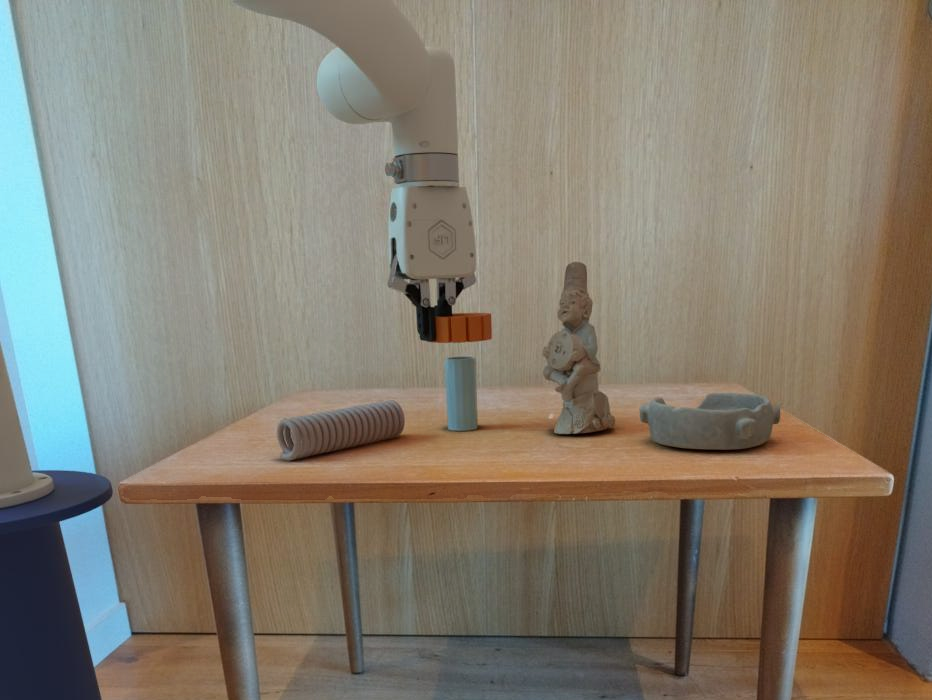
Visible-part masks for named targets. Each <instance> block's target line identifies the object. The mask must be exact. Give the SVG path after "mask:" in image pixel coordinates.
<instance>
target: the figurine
mask: <svg viewBox="0 0 932 700" xmlns="http://www.w3.org/2000/svg"><path fill="white" fill-rule="evenodd" d="M563 279H564V280H563V288H562V293H560V299H559V303H558V305H559V308H557V312H556V313H557V315H556V316H557V318H558V320H559V321H560V322H562V323H561V324H562V326H563V328H562V329H561V330H558V331H556V332H555V333H554V334H553V335H552V336H551V337H550V339H549V341H548V343H547V346H543V348H542V352H541V354H542V358H545V361H546V363H547V364H546V365H545V366H544V368H543V371H542V375H543V377H544V379H545V380H547V381H551V382H553V383H556V384H557V385H556V386H555V387H554V390H555V392H557V393H558V394H560V395H561V397H560V398H561V399H562V408H561V409H562V410H561V412H560V414H559V416H558V418H557V421H556V423H555V426H554V428H553V432H554V434H556V435H557V434H558V435H571V434H572V435H577V434H589V433H595V432H600V431H605V430H607V429H609V428H610V429H611V428H614V427H616V425H617V423H616V418H615V416H614V415H612V413H611V406H610V402H609V396H607V394H606V393H604V392H603V391H600V390H599V375H598V373H599V372H600V371H601V363H600V360H599V359H598V357H597V355H598V349H599V348H598V347H599V346H598V337H597V333H596V330H595V329H596V328H595V325H593V324H591V323H589V322H590V318H591V315H592V312H593V305H594V303H593V299H591V297H590V294H589V293H588V270H587V265H586V264H585V263H583V262H581V261H572V262H570V263H568V264H567V265H566V267H565V272H564V278H563Z"/></svg>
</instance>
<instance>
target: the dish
mask: <svg viewBox="0 0 932 700" xmlns="http://www.w3.org/2000/svg"><path fill="white" fill-rule="evenodd" d="M639 419H640V422H641V423H642V424H647V425H648V429H649V436H650V439H651V440H652V441H653V442H655V443H658V444H660V445H663V446H668V447H673V448H679V449H680V448H681V449H689V450H691V449H692V450H719V451H723V450H724V451H726V450H727V451H728V450H744V449H749V448H753V447H757V446H760V445H763V444H764V443H766V442H768V441H769V440H770V438H771V435H772V431H773V426H774V425H778V424H779V423H780V421H781V407H780V405H779V404H778V403H774V404H772V402H771V400H770V398H769V397H767V396H765V395H762V394H754V393H743V392H741V393H740V392H738V393H737V392H710V393H708V394H707V395H706V396H705V398H704V399H703V400H702V401H701V403H699V405H698V406H697V407H696V408H694V407H679V408H676V407H675V406H674V405H669V404H666V402H665V400H664V398H663V397H660V396H659V397H654V398H653V399H651V400H650V402H649V403H642V404H640V406H639Z"/></svg>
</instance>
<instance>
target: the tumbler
mask: <svg viewBox="0 0 932 700" xmlns="http://www.w3.org/2000/svg"><path fill="white" fill-rule="evenodd" d="M444 377H445V378H444V379H445V399H446V423H447V430H449V431H454V432H467V431H473V430H477V429H478V424H479V423H478V422H479V421H478V419H479V418H478V388H477V385H478V384H477V358H476V357H475V356H463V355H462V356H449V357H445V358H444Z"/></svg>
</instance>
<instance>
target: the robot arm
mask: <svg viewBox="0 0 932 700" xmlns="http://www.w3.org/2000/svg"><path fill="white" fill-rule="evenodd" d="M230 1H231V2H233V3H234V4H235V5H237V6H239V7H241V8H243V9H246V10H248V11H251V12H254V13H257V14H260V15H264V16H268V17H273V18H278V19H281V20H282V19H283V20H287V21H289V22H292V23H293V22H294V23H296V24H299V25H302V26H304V27H306V28H308V29H309V30H312V31H314V32H316V33H317V34H318V35H321V36H322V37H324V38H325V39H326V40H328V41H330V42H331V43H332V44H333V45H334V46H336V47H335V48H333V49H331V50H330V51H329V52H328V53H327V54H326V56H324V58H323V59H322V60H321V62H320V64H319V66H318V68H317V69H318V70H317V73H316V90H317V95H318V97H319V99H320V101H321V103H322V105H323V107H324V108H325V109H326V111H327V112H328V113H329V114H330V115H332V116H333V117H334V118H335V119H337V120H339V121H341V122H343V123H346V124H349V125H350V124H351V125H366V124H374V123H385V122H387V123H390V124H391V131H392V144H393V145H392V146H393V158H392V162H386V163H385V166H384V172H385V175H386V176H387V177H392V178H393V180H394V184H395V187H393V188H391V194H390V199H389V200H390V201H389V208H388V209H389V211H388V228H387V229H388V235H387V236H388V238H387V239H388V241H387V242H388V261H389V263H388V264H389V270H390V271H389V276H388V279H387V287H388V288H389V289H391V290H394V291H397V292H399V293H402V294H404V295H405V297H406V298H407V299H408V300H409V301H410V302H411V305H412V306H413V307H415V312H416V313H415V314H416V329H417V334H418V335H419V339H420V341H425V342H427V341H435V340H436V323H435V316H438V317H452V313H453V306H455V305H456V302H457V299H458V297H459V296H460V295H461V293H462V292H463V290H466V289H468V288H470V287H471V286H473V285H475V284H476V283H477V278H476V275H475V273H476V270H477V251H476V239H475V230H474V219H473V214H472V209H471V203H470V199H469V195H468V191H467V187H465V186H460V167H459V166H460V165H459V163H460V162H459V139H458V138H459V137H458V111H457V109H458V107H457V87H456V85H457V84H456V68H455V67H456V66H455V61H454V58H453V56H452V54H451V53H450V52H449V51H448V50H446V49H444V48H443V47H438V46H432V45H424V44H425V43H424V42H423V40H422V39H421V36H420V35H419V33H418V32H417V30H416V29H415V27H414V26H413V25H412V23H411V22H410V21H409V19H408V18H407V16H406V15H405V14H404V12H402V10H401V9H400V8H399V6H398V5H397V4H396V3H395V2H394V0H230ZM406 280H409V281H406ZM429 280H436V304H435V305H433V306H432V305H431V292H430V281H429ZM7 367H8V366H7V363H6V359H5V355H4V351H3V348H2V343H1V342H0V509H2V508H8V507H12V506H16V505H21V504H24V503H28V502H31V501H34V500H37V499H40V498H42V497H44V496H46V495H48V494H50V493H51V492H52V491H53V489H54V485H53V480H52V478H51V477H50V476H48V475H46V474H42V473H35V472H32V471H33V469H32V465H31V461H30V457H29V452H28V448H27V445H26V440H25V437H24V433H23V428H22V425H21V421H20V417H19V413H18V409H17V404H16V399H15V396H14V392H13V387H12V384H11V379H10V377H9V376H10V375H9V371H8V368H7Z"/></svg>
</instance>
